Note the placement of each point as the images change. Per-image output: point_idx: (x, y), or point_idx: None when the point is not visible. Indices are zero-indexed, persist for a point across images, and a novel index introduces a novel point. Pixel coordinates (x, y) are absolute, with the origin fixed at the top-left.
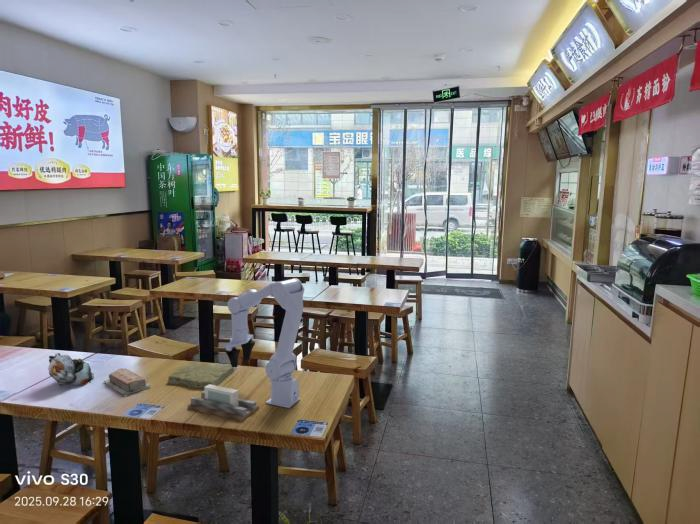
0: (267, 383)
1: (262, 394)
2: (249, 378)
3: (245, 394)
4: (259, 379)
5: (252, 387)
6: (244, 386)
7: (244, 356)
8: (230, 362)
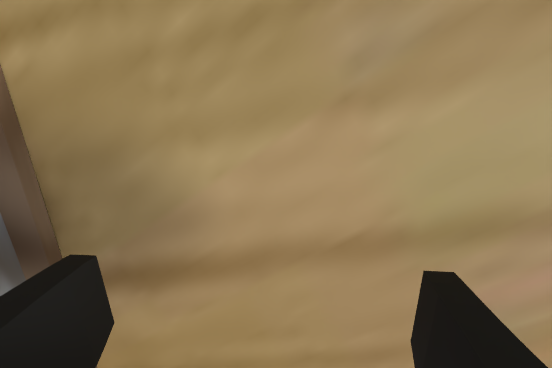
0: None
1: (252, 324)
2: (506, 94)
3: (196, 239)
4: (503, 190)
5: (324, 221)
6: (315, 157)
7: (441, 337)
8: (4, 297)
